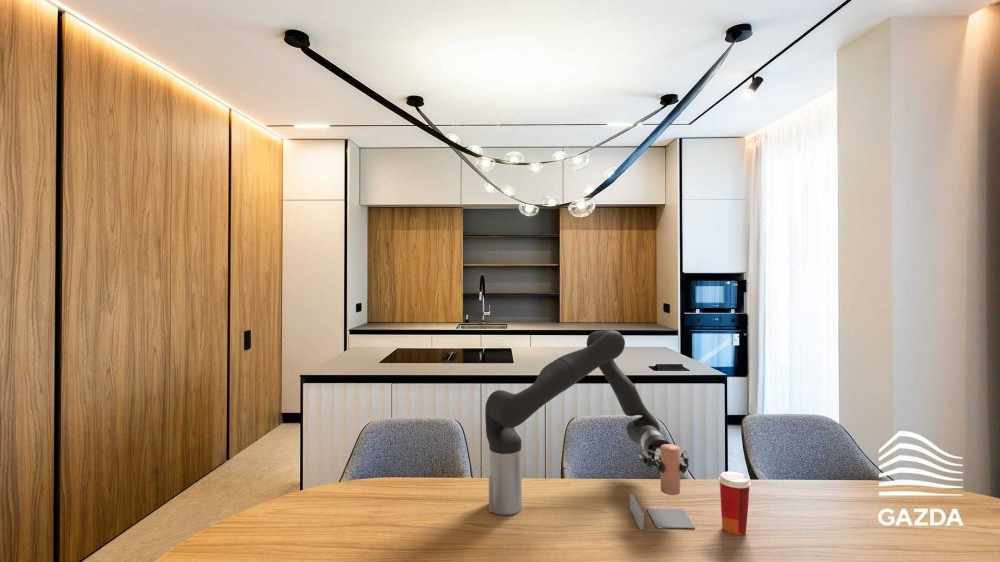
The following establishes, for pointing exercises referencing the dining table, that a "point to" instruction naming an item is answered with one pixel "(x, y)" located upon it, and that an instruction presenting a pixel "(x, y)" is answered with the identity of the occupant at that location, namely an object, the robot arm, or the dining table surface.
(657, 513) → the resting mat
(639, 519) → the acrylic wall
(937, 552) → the dining table surface
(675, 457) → the salmon pink cylinder
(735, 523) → the paper cup
